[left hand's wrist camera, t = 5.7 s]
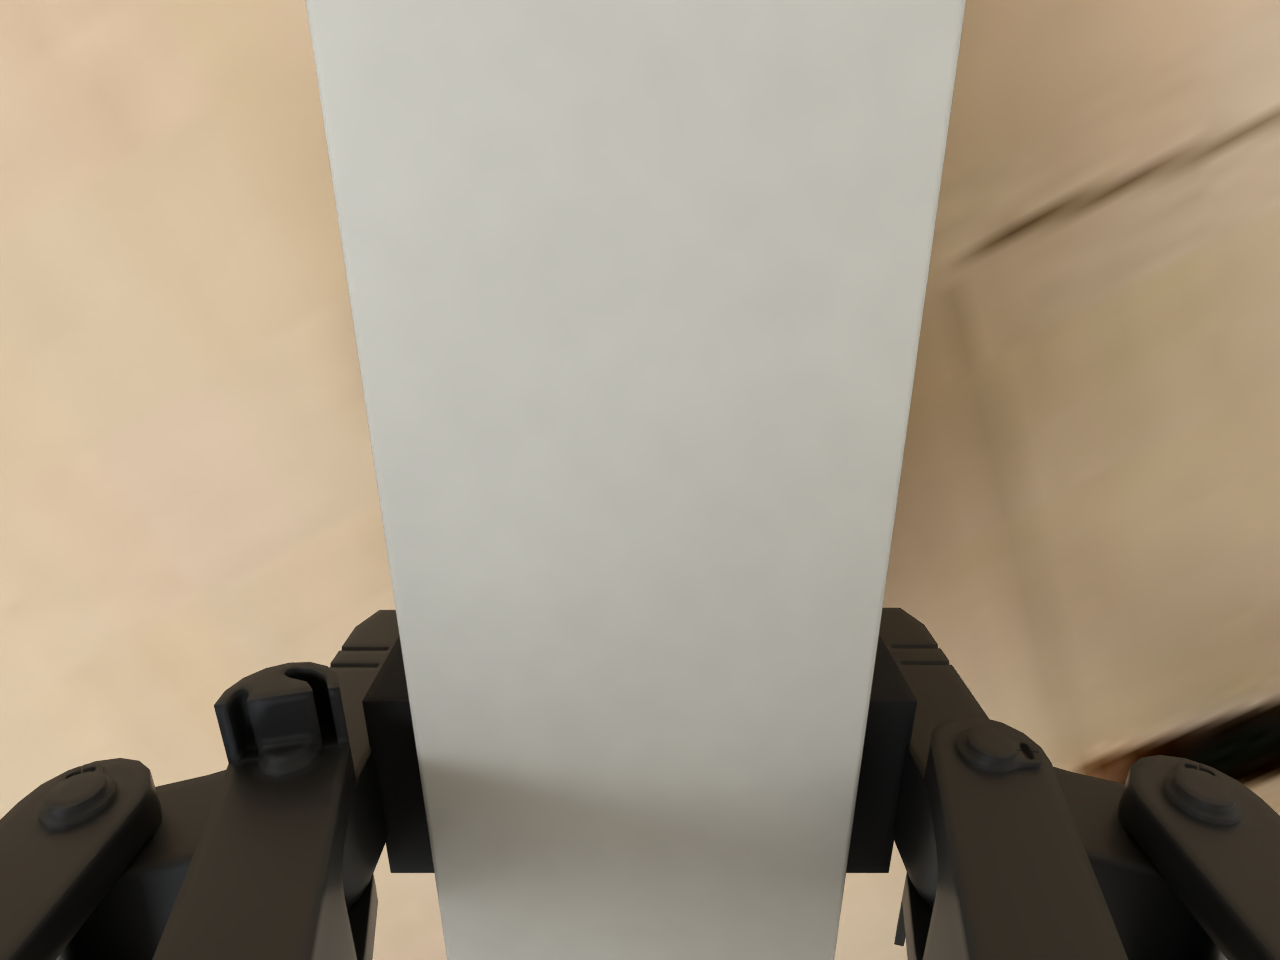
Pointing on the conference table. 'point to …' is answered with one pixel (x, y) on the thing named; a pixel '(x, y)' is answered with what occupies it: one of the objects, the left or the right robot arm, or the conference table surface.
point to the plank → (638, 438)
